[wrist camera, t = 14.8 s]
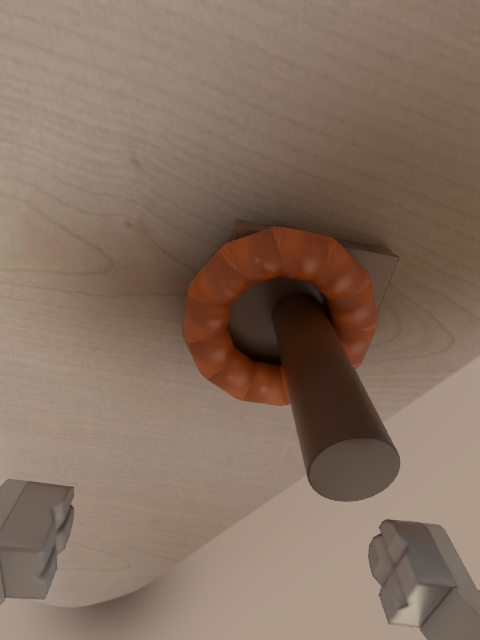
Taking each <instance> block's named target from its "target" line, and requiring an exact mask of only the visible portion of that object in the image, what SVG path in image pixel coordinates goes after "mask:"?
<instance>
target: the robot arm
mask: <svg viewBox="0 0 480 640" xmlns="http://www.w3.org/2000/svg"><path fill="white" fill-rule="evenodd" d="M73 497H74V487H71V486H63V485H55V484H47V483H39V482H31V481H24V480H15V479H8V480H6V481H5V482H4V483H3V484H2V485H1V487H0V605H1V604H2V603H3V602H4V601H5V598H21V599H45V598H46V595H47V593H48V590H49V588H50V585H51V583H52V580H53V578H54V575H55V572H56V570H57V555H58V554H59V553H61V552H62V551H63V550H64V549H65V546H66V544H67V541H68V538H69V535H70V531H71V528H72V524H73V518H74V507H73V506H72V505H71V502H72V500H73ZM379 529H380V531H381V534H379V535H377V536H375V537H373V539H372V541H371V543H370V545H369V555H368V557H369V564H370V568H371V572H372V575H373V577H374V578H375V579H376V580H377V581H378V583H379V584H380V585H381V589H380V593H379V597H380V600H381V603H382V606H383V609H384V611H385V615H386V618H387V621H388V624H390V625H399V626H409V627H418V628H421V629H420V630H421V632H422V633H423V635H424V636H425V637H426V638H427V640H480V590H477V588H476V586H475V584H474V583H473V581H472V579H471V577H470V575H469V573H468V572H467V570H466V568H465V566H464V564H463V563H462V560H461V559H460V557H459V555H458V553H457V552H456V549H455V548H454V546H453V544H452V543H451V540H450V538H449V537H448V535H447V533H446V531H445V530H444V528H442V527H441V526H440V525H437V524H427V523H420V522H412V521H400V520H388V519H387V520H384V521H383V522H382V524H381V525H380V527H379Z"/></svg>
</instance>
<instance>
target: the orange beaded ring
mask: <svg viewBox="0 0 480 640" xmlns="http://www.w3.org/2000/svg"><path fill="white" fill-rule="evenodd" d="M279 276H281V277H287V278H292V279H298V280H303V281H308V282H309V283H310V284H311V285H313V286H314V287H315V288H316V289H317V290H318V291H319V292H320V293H322V294H323V295H324V296H325V297H326V299H327V303H328V307H329V311H330V315H331V321H330V323H331V324H332V326H333V328H334V330H335V332H336V334H337V336H338V338H339V340H340V342H341V344H342V346H343V348H344V350H345V351H346V353H347V355H348V357H349V359H350V361H351V363H352V365H353V367H354V369H357V368H358V367H359V366H360V364H361V363H362V361H363V359H364V356H365V354H366V351H367V349H368V346H369V344H370V342H371V339H372V337H373V334H374V332H375V330H376V327H377V324H378V314H377V309H376V304H375V298H374V293H373V288H372V282H371V278H370V275H369V273H368V272H367V270H366V269H365V268H364V267H363V266H362V265H361V264H360V263H359V262H358V261H357V260H356V259H355V258H354V257H353V256H351V255H350V254H349V253H348V252H347V251H346V250H345V249H344V248H343V247H342V246H341V245H340V244H339V243H338V242H337V241H336V240H335V239H333V238H331V237H329V236H326V235H321V234H316V233H311V232H306V231H301V230H296V229H291V228H286V227H279V226H278V227H272V228H269V229H266V230H263V231H260V232H257V233H254V234H251V235H248V236H245V237H242V238H239V239H236V240H233V241H230V242H228V243H226V244H224V245H223V246H222V247H221V248H220V249H219V250H218V251H217V252H216V253H215V254H214V256H213V257H212V258H211V259H210V260H209V261H208V262H207V264H206V265H205V266H204V267H203V268H202V269H201V270H200V272H199V273H198V274H197V275H196V276H195V277H194V278H193V280H192V281H191V283H190V285H189V287H188V291H187V298H186V304H185V311H184V318H183V324H182V335H183V338H184V340H185V342H186V344H187V346H188V349H189V351H190V353H191V355H192V357H193V359H194V361H195V363H196V366H197V368H198V370H199V372H200V373H201V374H202V375H203V376H204V377H205V378H206V379H208V380H209V381H211V382H212V383H214V384H215V385H216V386H218V387H219V388H221V389H222V390H224V391H225V392H227V393H228V394H230V395H231V396H233V397H234V398H236V399H238V400H242V401H248V402H255V403H262V404H269V405H276V406H284V405H289V404H291V403H290V398H289V394H288V389H287V385H286V380H285V376H284V371H283V367H282V364H280V365H277V364H271V363H264V362H258V361H253V360H251V359H250V358H249V357H247V356H246V355H245V354H243V353H242V352H241V351H239V350H238V349H237V348H235V347H234V344H233V342H232V339H231V337H230V334H229V332H228V329H227V324H228V320H229V315H230V310H231V305H232V304H233V303H234V302H235V301H236V300H237V299H238V298H239V297H240V296H241V295H242V294H243V293H244V292H245V291H246V290H247V289H248V288H249V286H251V285H254V284H257V283H260V282H263V281H266V280H269V279H272V278H275V277H279Z"/></svg>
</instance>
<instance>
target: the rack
mask: <svg viewBox="0 0 480 640" xmlns="http://www.w3.org/2000/svg"><path fill="white" fill-rule="evenodd" d="M269 228H272V226H267V225H262V224H257V223H252V222H246V221H241V220H236V221H235V226H234V231H233V237H232V241H233V240H236V239H239V238H242V237H245V236H248V235H251V234H254V233H257V232H260V231H263V230H266V229H269ZM333 239H334V238H333ZM335 240H336V241H337V242H338V243H339V244H340V245H341V246H342V247H343V248H344V249H345V250H346V251H347V252H348V253H349V254H350V255H351V256H353V257H354V258H355V259H356V260H357V261H358V262H359V263H360V264H361V265H362V266H363V267H364V268H365V269H366V270H367V272H368V273H369V275H370V278H371V282H372V288H373V293H374V298H375V304H376V309H377V312H378V309H379V307H380V304H381V302H382V299H383V297H384V294H385V292H386V289H387V287H388V284H389V282H390V279H391V277H392V274H393V272H394V269H395V267H396V264H397V262H398V260H399V257H398V256H397V255H396V254H395V253H393V252H392V251H391V250H389V249H386V248H381V247H375V246H370V245H365V244H360V243H355V242H350V241H344V240H339V239H335ZM330 321H331V315H330V311H329V307H328V303H327V299H326V297H325V296H324V295H323V294H322V293H320V292H319V291H318V290H317V289H316V288H315V287H314V286H313V285H311V284H310V283H309V282H308V281H303V280H298V279H292V278H287V277H281V276H279V277H275V278H272V279H269V280H266V281H263V282H260V283H257V284H254V285H251V286H249V288H248V289H247V290H246V291H245V292H244V293H243V294H242V295H241V296H240V297H239V298H238V299H237V300H236V301H235V302H234V303H233V304H232V305H231V310H230V315H229V320H228V324H227V329H228V332H229V334H230V337H231V339H232V342H233V344H234V347H235V348H237V349H238V350H239V351H241V352H242V353H243V354H245V355H246V356H247V357H249V358H250V359H251V360H253V361H258V362H264V363H271V364H277V365H280V364H282V367H283V371H284V376H285V380H286V385H287V389H288V394H289V398H290V403H291V407H292V411H293V416H294V420H295V425H296V429H297V434H298V438H299V442H300V447H301V451H302V456H303V460H304V465H305V469H306V473H307V478H308V481H309V483H310V485H311V486H312V488H313V489H314V490H315V491H316V492H317V493H318V494H320V495H321V496H323V497H325V498H328V499H331V500H335V501H344V502H345V501H346V502H347V501H358V500H363V499H366V498H369V497H372V496H374V495H376V494H378V493H380V492H381V491H383V490H384V489H386V488H387V487H388V486H389V485H390V484H391V483H392V482H393V481H394V479H395V478H396V476H397V474H398V472H399V468H400V457H399V454H398V452H397V450H396V448H395V446H394V444H393V442H392V440H391V438H390V436H389V434H388V433H387V430H386V429H385V427H384V425H383V423H382V421H381V419H380V417H379V415H378V413H377V411H376V409H375V407H374V405H373V403H372V402H371V400H370V398H369V396H368V394H367V392H366V390H365V388H364V386H363V384H362V382H361V380H360V378H359V376H358V375H357V373H356V371H355V369H354V367H353V365H352V363H351V361H350V359H349V357H348V355H347V353H346V351H345V350H344V348H343V346H342V344H341V342H340V340H339V338H338V336H337V334H336V332H335V330H334V328H333V326H332V324H331V323H330Z"/></svg>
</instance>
